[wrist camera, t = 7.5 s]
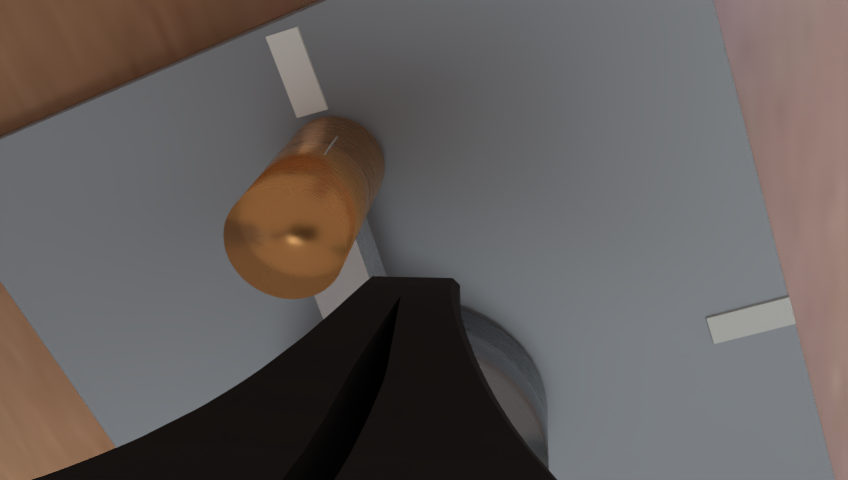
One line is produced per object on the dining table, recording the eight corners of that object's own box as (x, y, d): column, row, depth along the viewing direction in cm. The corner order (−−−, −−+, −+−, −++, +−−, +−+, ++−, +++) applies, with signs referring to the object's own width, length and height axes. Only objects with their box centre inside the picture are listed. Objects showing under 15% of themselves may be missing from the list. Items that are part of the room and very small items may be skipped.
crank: (570, 487, 22) (578, 621, 19) (344, 515, 24) (307, 643, 20) (462, 82, 18) (441, 147, 14) (188, 150, 19) (100, 226, 15)
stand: (297, 665, 30) (287, 697, 29) (-47, 156, 22) (-79, 172, 21) (853, 575, 24) (868, 611, 23) (666, -148, 16) (676, -149, 15)
